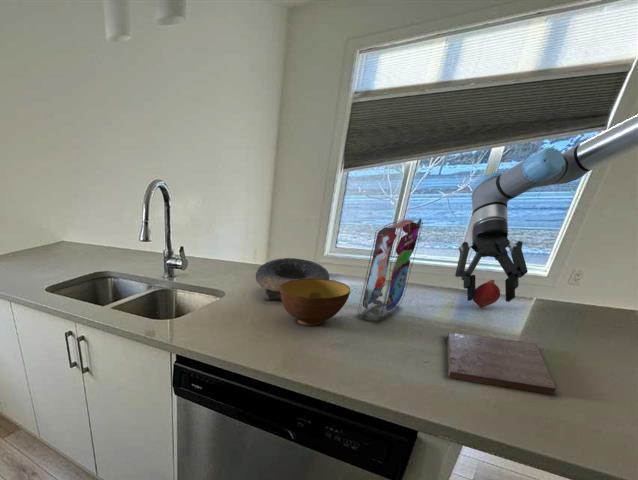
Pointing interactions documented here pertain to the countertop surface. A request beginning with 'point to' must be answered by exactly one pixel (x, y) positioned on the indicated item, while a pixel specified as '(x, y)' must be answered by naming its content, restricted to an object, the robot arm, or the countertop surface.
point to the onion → (486, 294)
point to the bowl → (313, 299)
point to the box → (382, 261)
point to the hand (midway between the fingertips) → (490, 298)
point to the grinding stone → (287, 274)
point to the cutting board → (498, 363)
